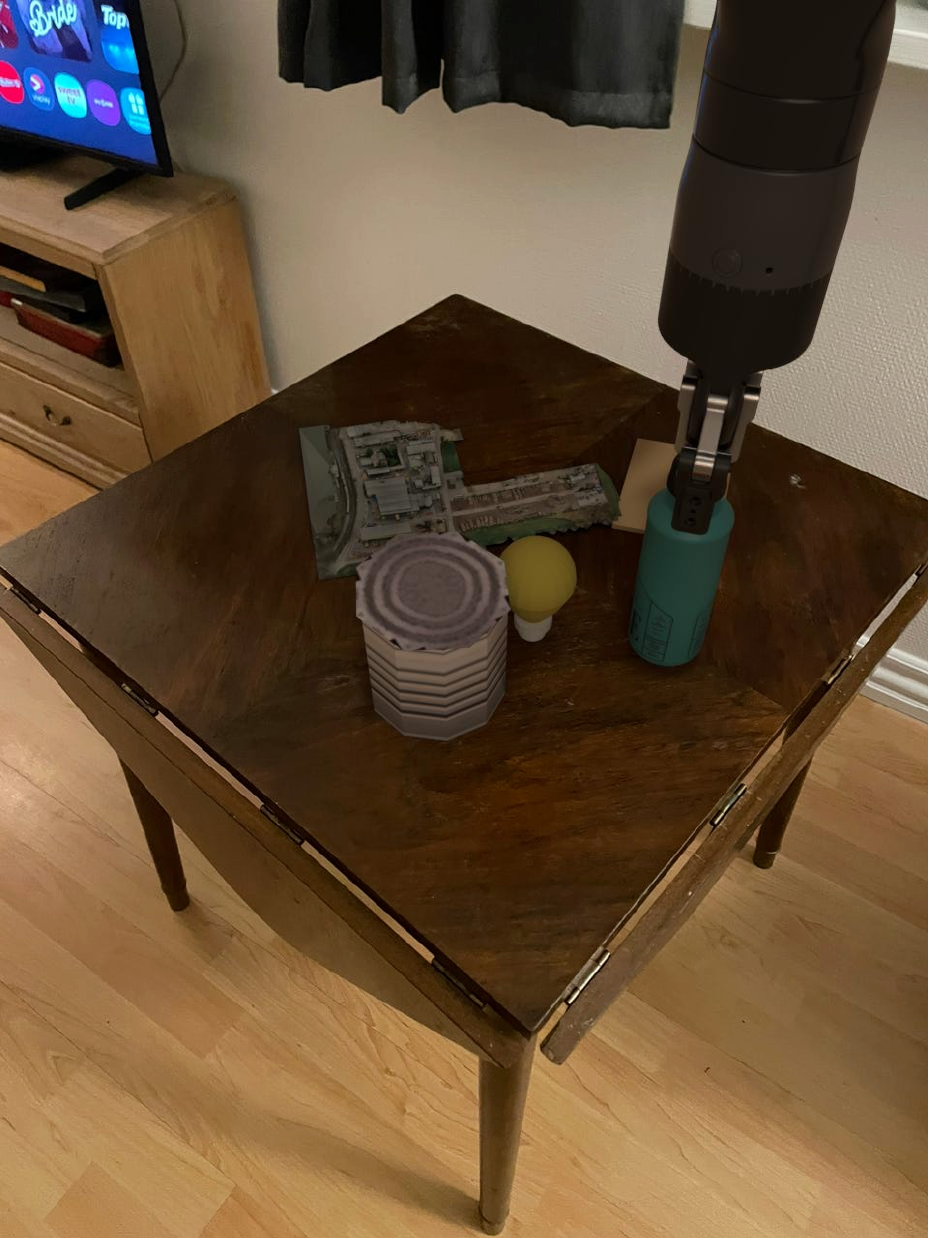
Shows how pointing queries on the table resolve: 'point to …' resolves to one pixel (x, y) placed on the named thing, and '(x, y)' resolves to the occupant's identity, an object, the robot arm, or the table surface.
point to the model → (430, 493)
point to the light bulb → (537, 583)
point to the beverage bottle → (676, 581)
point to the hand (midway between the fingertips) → (689, 524)
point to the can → (434, 632)
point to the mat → (645, 483)
